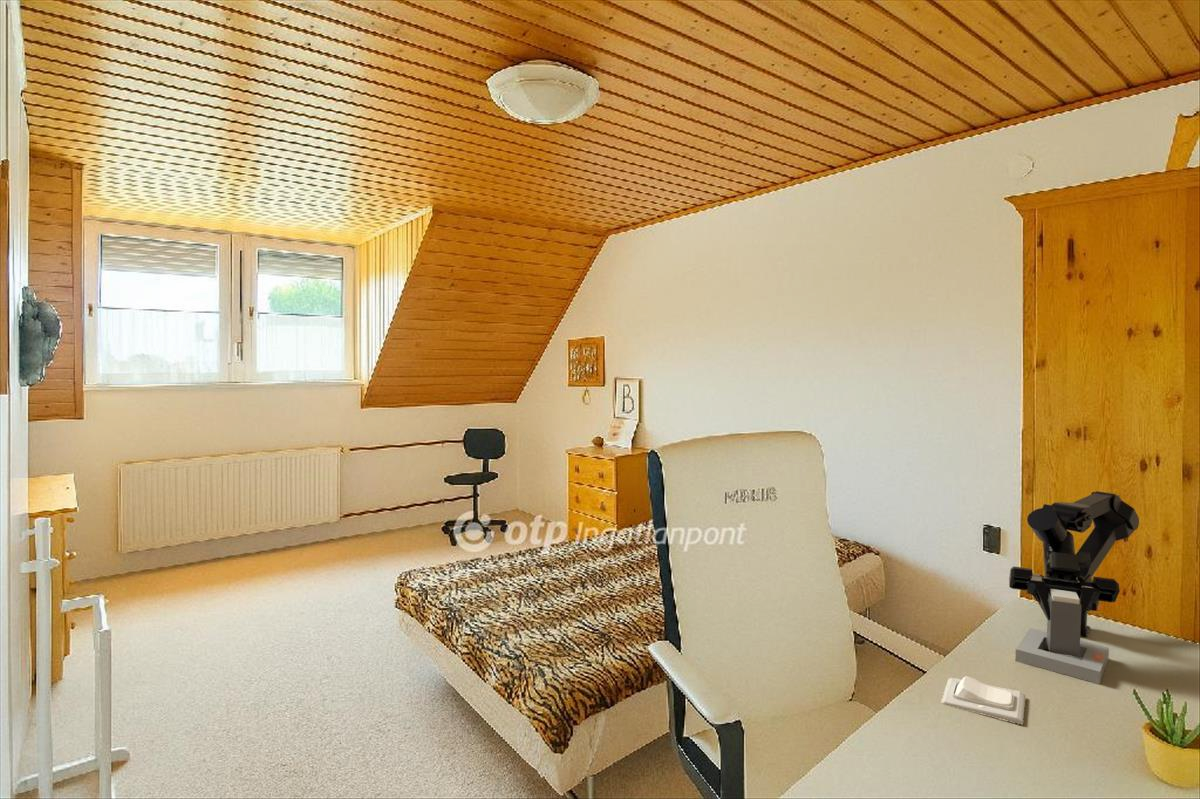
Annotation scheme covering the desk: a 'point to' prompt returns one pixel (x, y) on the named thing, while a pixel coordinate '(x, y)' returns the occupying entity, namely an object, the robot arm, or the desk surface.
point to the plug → (1064, 623)
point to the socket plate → (1063, 657)
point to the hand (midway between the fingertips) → (1064, 621)
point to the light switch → (985, 699)
